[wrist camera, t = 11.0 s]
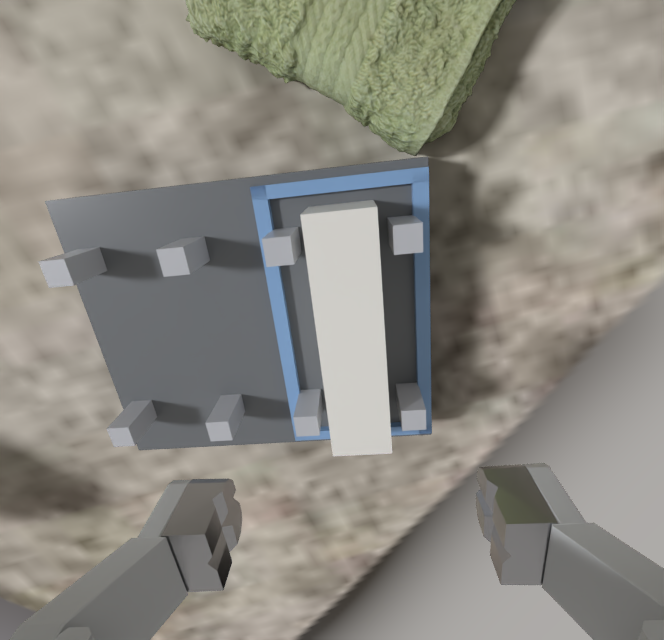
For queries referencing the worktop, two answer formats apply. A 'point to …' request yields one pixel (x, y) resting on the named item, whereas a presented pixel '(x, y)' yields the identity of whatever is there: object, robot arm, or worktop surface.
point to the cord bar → (349, 323)
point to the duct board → (239, 302)
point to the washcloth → (366, 54)
